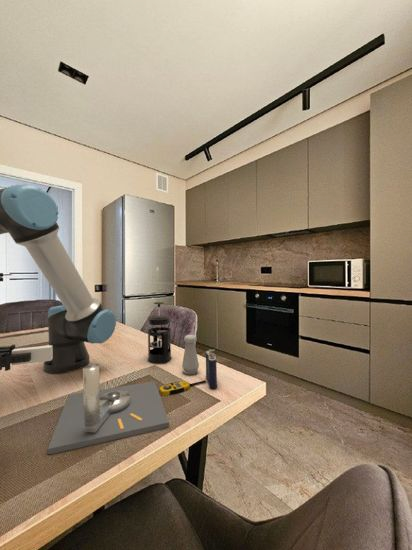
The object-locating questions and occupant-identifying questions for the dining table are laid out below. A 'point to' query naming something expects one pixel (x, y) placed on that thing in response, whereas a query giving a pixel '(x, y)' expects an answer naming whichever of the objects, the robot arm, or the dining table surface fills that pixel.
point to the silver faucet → (99, 400)
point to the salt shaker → (190, 355)
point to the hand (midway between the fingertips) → (51, 352)
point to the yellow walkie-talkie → (176, 387)
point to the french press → (163, 347)
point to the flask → (211, 369)
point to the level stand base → (110, 419)
